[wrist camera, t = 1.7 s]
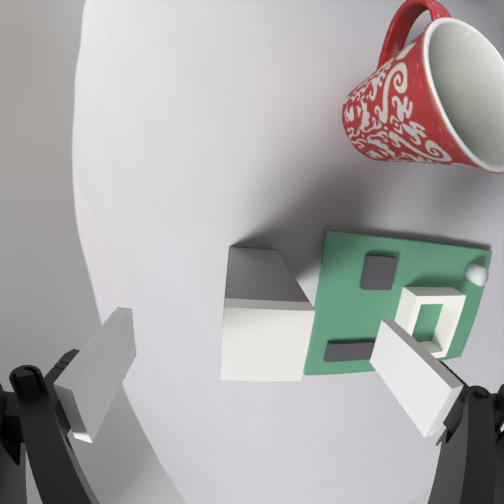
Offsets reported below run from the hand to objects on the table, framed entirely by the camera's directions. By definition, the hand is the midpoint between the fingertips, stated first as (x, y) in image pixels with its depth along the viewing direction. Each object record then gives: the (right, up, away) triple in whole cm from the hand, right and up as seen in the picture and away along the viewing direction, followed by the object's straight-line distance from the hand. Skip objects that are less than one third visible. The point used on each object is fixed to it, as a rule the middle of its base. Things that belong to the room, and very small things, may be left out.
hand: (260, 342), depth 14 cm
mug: (+11, +18, +8) cm, 22 cm away
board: (+16, -1, +12) cm, 20 cm away
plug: (0, +3, +10) cm, 11 cm away
